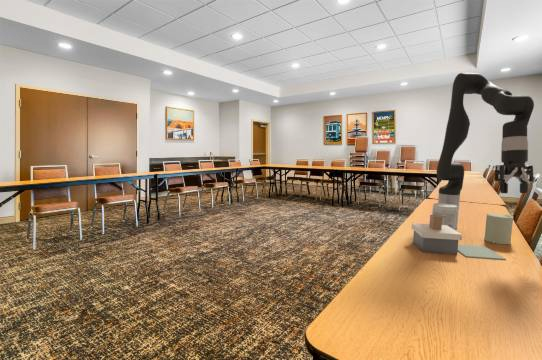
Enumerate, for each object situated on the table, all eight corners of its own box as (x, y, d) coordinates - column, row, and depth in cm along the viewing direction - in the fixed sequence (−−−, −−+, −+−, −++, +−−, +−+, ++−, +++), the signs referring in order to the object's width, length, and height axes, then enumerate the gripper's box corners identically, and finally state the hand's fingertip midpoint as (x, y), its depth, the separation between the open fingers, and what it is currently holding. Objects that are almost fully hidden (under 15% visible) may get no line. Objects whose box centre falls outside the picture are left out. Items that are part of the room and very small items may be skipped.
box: (412, 242, 120) (414, 226, 119) (443, 244, 118) (445, 227, 117) (422, 251, 108) (423, 234, 107) (457, 254, 106) (458, 236, 105)
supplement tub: (435, 232, 135) (437, 202, 134) (458, 237, 128) (461, 205, 127) (427, 235, 129) (429, 204, 128) (450, 241, 122) (453, 207, 121)
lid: (411, 228, 120) (412, 211, 119) (446, 230, 118) (447, 213, 117) (422, 237, 107) (423, 219, 106) (461, 240, 105) (463, 221, 104)
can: (511, 246, 117) (514, 217, 115) (483, 241, 122) (486, 214, 121) (510, 240, 124) (513, 214, 123) (483, 236, 129) (486, 211, 128)
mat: (449, 244, 117) (449, 243, 117) (484, 247, 115) (484, 246, 115) (465, 256, 104) (465, 255, 104) (505, 259, 101) (505, 258, 101)
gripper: (520, 151, 110) (519, 192, 110) (488, 150, 108) (488, 192, 108) (541, 149, 103) (540, 193, 103) (508, 148, 100) (507, 193, 100)
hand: (513, 193), depth 105 cm, fingers open, 8 cm apart
